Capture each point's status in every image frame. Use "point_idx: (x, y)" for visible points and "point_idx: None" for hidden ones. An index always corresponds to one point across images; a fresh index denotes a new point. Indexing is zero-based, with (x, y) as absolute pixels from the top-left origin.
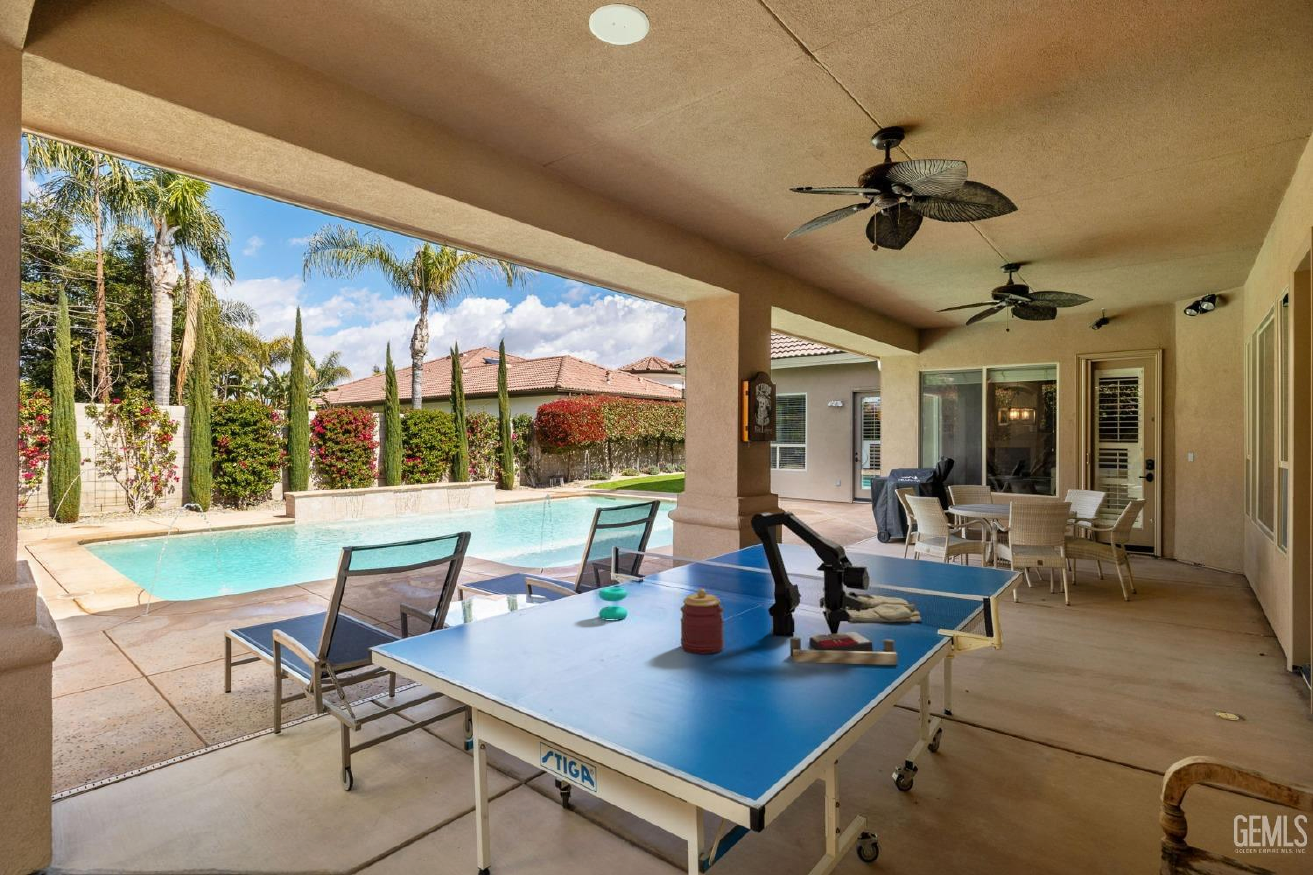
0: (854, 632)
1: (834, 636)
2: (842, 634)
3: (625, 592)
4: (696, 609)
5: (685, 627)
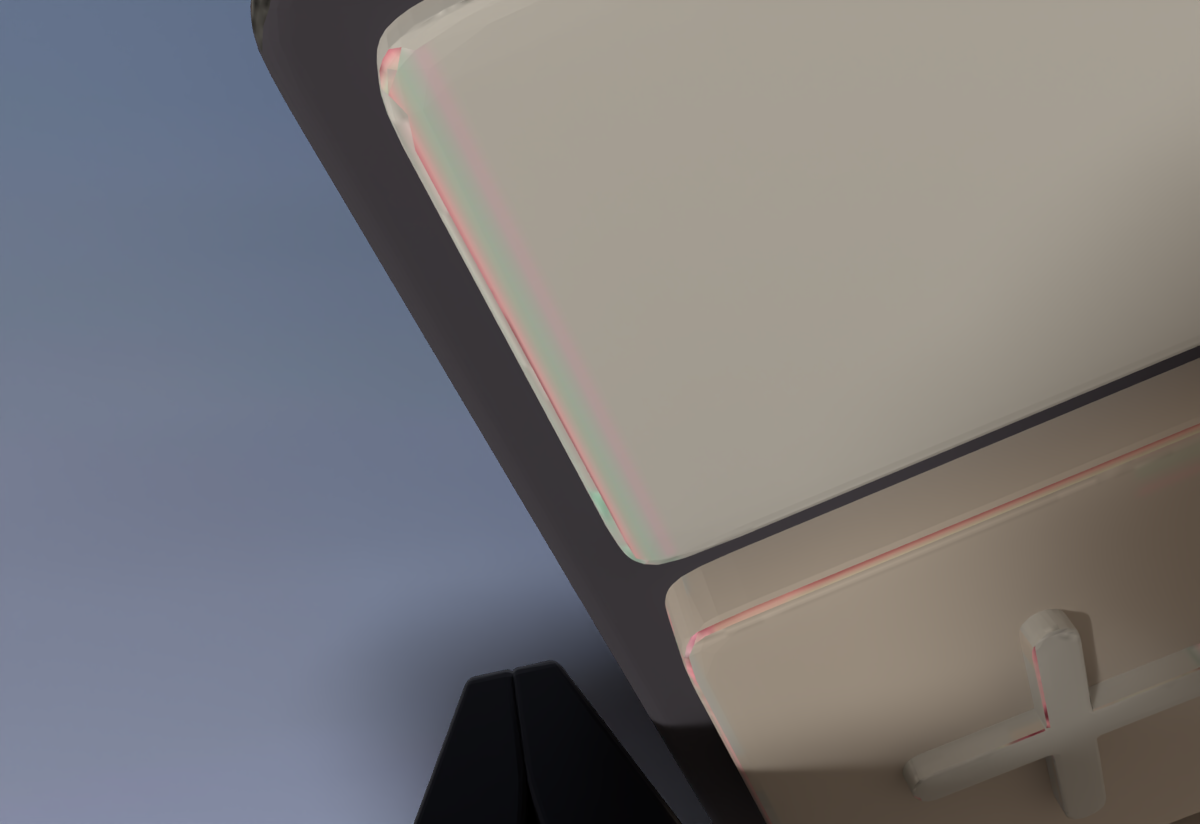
0: (568, 77)
1: (1134, 780)
2: (970, 602)
3: None
4: None
5: None
